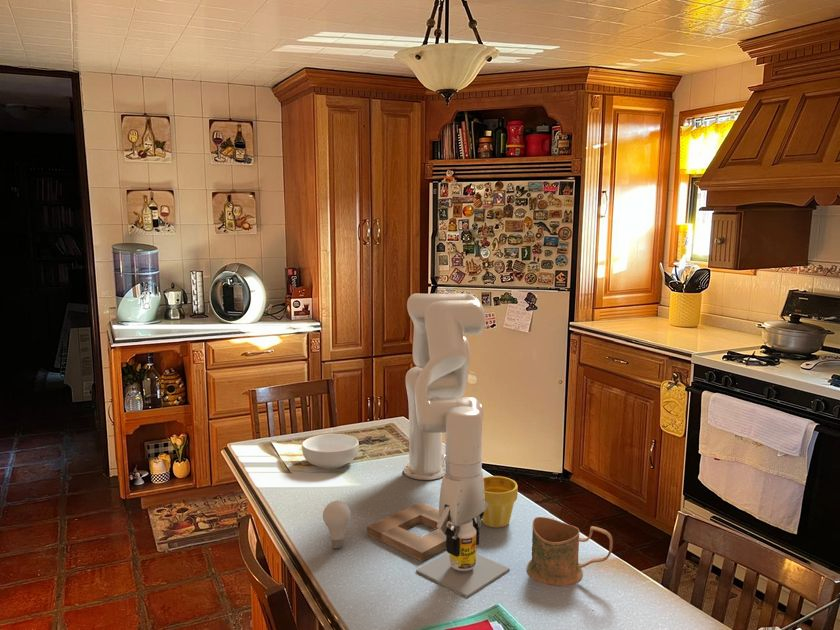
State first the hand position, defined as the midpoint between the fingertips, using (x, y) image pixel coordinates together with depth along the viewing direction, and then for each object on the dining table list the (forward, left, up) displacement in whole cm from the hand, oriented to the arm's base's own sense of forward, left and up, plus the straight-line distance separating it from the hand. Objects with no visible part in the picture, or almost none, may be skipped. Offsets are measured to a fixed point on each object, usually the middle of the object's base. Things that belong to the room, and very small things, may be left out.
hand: (462, 547), depth 142 cm
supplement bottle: (0, 0, -4) cm, 4 cm away
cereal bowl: (-19, -68, -6) cm, 71 cm away
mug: (-14, +17, -6) cm, 23 cm away
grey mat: (0, 0, -5) cm, 5 cm away
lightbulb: (+12, -27, -5) cm, 30 cm away
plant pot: (-23, -9, -6) cm, 25 cm away
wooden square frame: (-6, -18, -5) cm, 19 cm away
